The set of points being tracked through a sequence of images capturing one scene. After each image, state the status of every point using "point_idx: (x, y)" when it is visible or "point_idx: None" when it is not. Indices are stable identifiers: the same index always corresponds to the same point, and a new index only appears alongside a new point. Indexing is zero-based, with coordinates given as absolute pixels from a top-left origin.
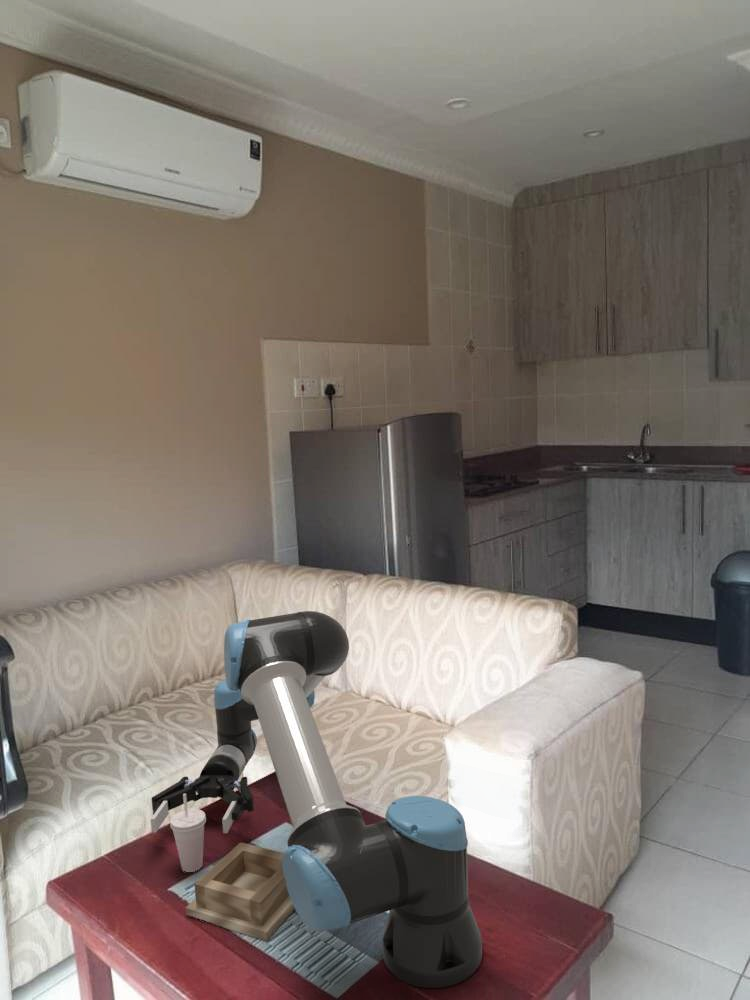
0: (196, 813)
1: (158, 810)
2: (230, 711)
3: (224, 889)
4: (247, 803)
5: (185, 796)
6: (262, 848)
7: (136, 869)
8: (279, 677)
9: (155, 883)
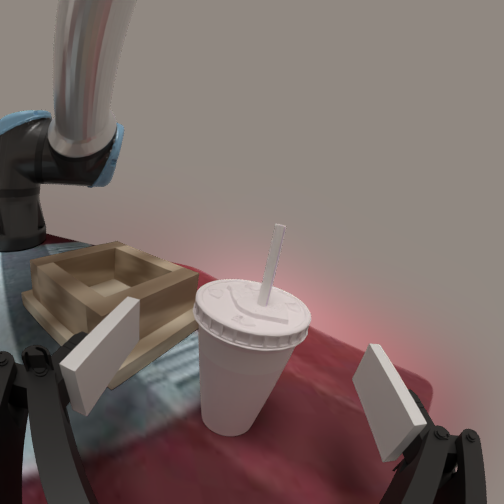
0: (231, 312)
1: (393, 374)
2: None
3: (154, 259)
4: (20, 365)
5: (275, 231)
6: (68, 290)
7: (353, 419)
8: None
9: (290, 384)
